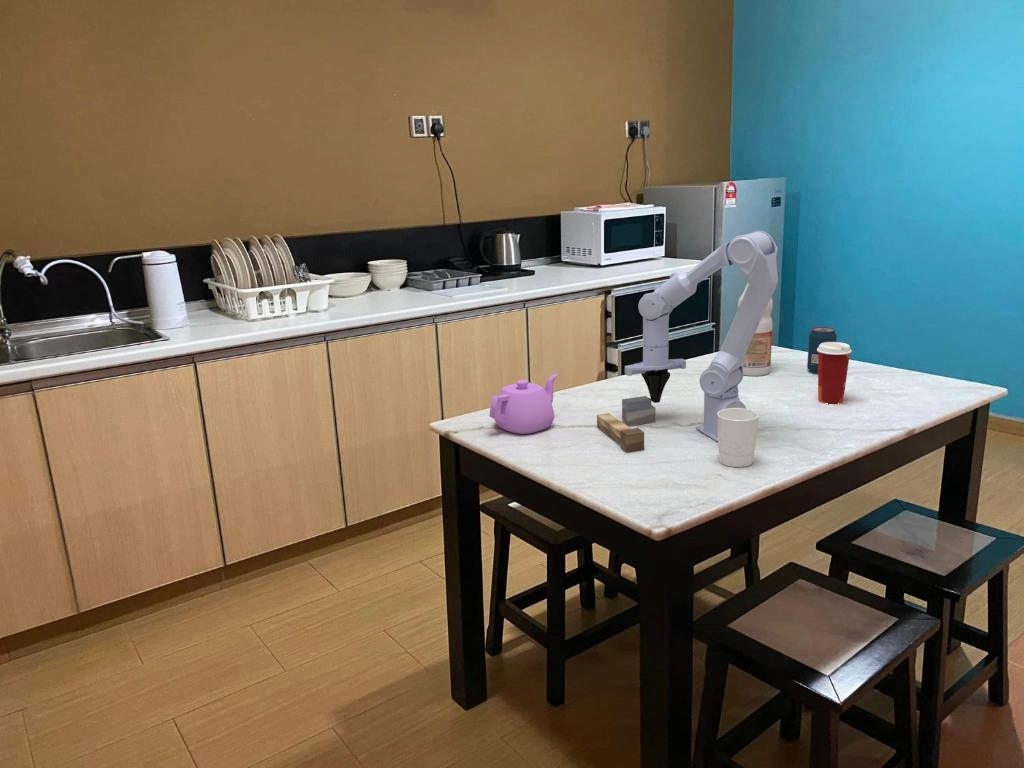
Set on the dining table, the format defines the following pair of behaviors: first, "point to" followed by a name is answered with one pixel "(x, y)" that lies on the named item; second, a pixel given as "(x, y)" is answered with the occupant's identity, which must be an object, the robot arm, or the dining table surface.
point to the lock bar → (636, 403)
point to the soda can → (815, 339)
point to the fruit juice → (759, 344)
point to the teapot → (524, 407)
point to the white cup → (737, 436)
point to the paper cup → (832, 371)
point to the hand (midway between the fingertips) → (655, 401)
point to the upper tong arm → (612, 423)
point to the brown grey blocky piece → (632, 437)
